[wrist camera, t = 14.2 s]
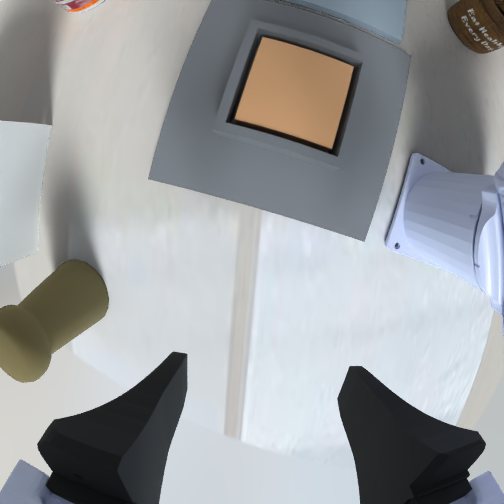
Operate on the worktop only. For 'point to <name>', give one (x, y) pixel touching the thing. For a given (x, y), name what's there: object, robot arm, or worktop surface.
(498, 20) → the utensil holder
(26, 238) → the milk
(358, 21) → the rubber mat
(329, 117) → the button
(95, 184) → the worktop surface
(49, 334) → the cork
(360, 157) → the breaker housing
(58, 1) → the pill bottle
